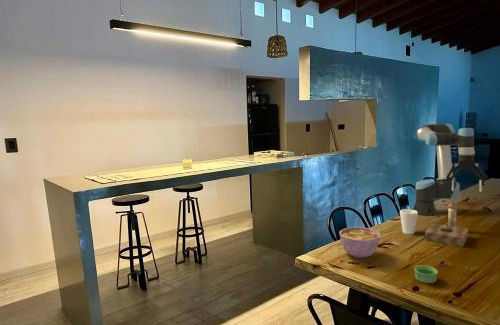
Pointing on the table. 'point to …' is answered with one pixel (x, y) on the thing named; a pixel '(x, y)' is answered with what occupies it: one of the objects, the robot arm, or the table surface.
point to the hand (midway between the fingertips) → (466, 191)
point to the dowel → (452, 215)
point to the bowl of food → (359, 241)
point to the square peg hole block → (446, 235)
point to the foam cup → (408, 220)
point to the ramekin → (425, 274)
